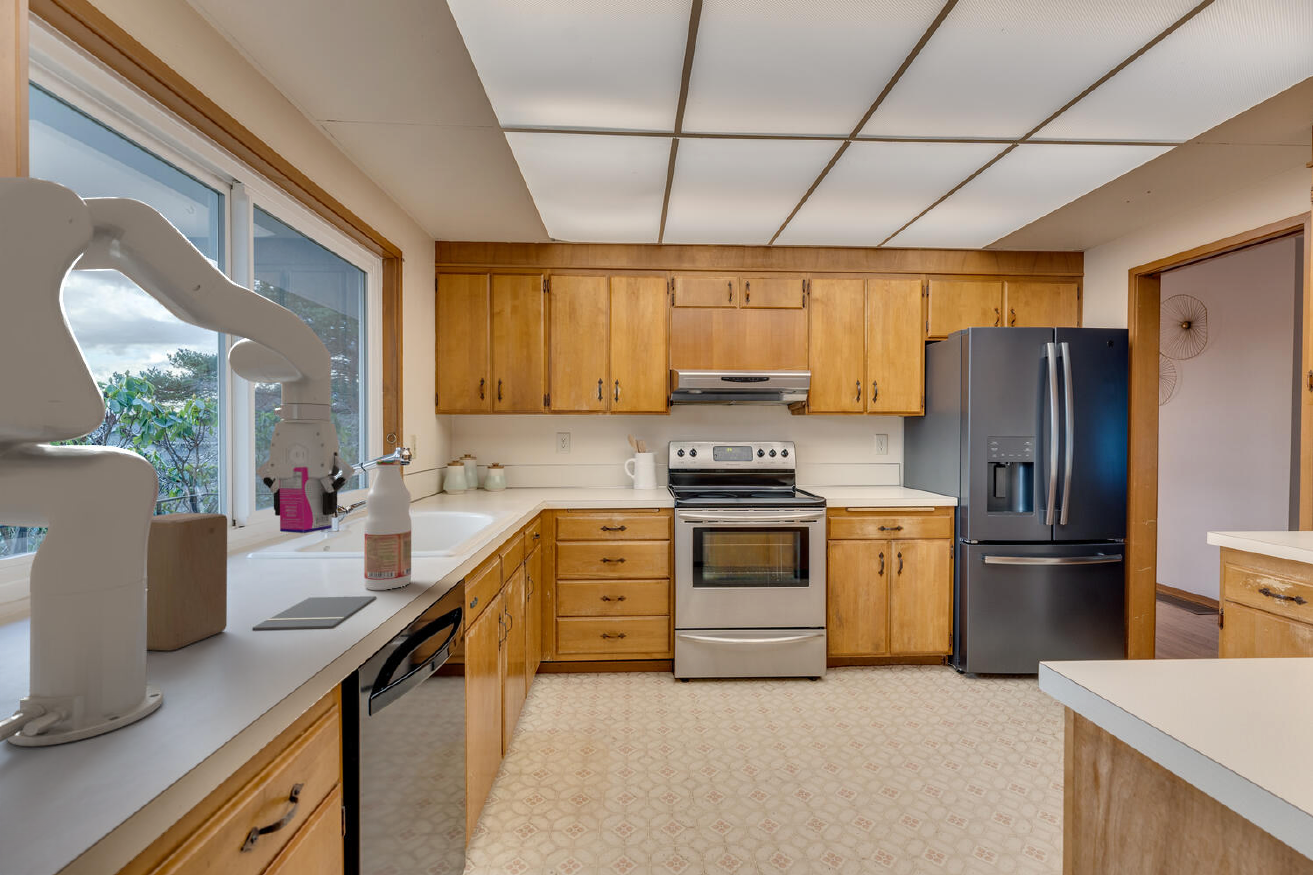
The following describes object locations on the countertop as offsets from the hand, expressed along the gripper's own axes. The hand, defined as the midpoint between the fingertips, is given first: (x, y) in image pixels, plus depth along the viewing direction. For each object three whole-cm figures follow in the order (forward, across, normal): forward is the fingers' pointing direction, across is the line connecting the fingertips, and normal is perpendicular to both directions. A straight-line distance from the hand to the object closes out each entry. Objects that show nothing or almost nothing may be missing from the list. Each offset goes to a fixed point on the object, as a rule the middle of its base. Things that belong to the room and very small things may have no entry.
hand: (305, 513), depth 99 cm
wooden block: (+19, -16, -8) cm, 26 cm away
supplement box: (+3, 0, 0) cm, 3 cm away
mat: (+19, 0, +5) cm, 20 cm away
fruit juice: (+19, +5, +24) cm, 31 cm away
